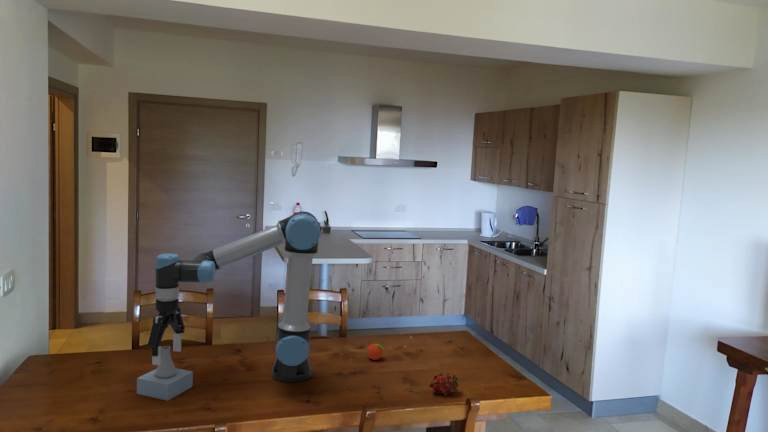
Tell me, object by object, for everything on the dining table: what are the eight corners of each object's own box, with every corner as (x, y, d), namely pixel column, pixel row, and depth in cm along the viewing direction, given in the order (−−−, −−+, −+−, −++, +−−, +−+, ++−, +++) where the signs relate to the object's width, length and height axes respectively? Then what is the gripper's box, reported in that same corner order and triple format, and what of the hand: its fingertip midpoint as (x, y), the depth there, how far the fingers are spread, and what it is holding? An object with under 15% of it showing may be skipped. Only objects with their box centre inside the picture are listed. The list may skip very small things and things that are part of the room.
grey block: (192, 387, 199) (192, 371, 198) (167, 401, 187) (168, 384, 186) (162, 381, 203) (163, 365, 202) (136, 394, 191) (136, 378, 190)
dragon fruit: (460, 396, 207) (431, 404, 203) (451, 377, 213) (422, 384, 209) (465, 384, 201) (435, 392, 198) (455, 365, 207) (426, 371, 203)
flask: (168, 379, 190) (168, 351, 189) (150, 377, 191) (150, 349, 190) (180, 372, 197) (181, 345, 196) (163, 369, 198) (163, 342, 197)
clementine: (387, 359, 237) (388, 343, 236) (378, 364, 231) (379, 347, 230) (372, 355, 241) (373, 339, 240) (363, 359, 235) (364, 343, 235)
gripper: (175, 289, 204) (175, 345, 206) (136, 307, 179) (136, 369, 182) (194, 291, 203) (194, 346, 205) (157, 308, 178) (157, 371, 181)
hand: (167, 357), depth 193 cm, fingers open, 13 cm apart
